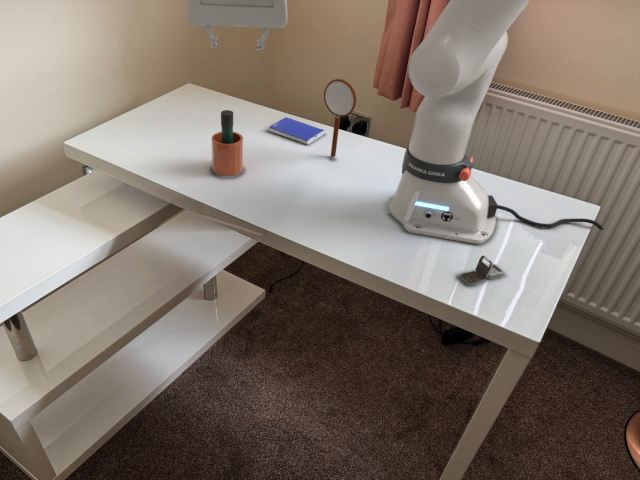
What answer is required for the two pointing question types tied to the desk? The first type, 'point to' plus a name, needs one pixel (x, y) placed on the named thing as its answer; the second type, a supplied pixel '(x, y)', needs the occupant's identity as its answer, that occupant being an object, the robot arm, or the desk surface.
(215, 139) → the pen holder
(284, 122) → the hard drive
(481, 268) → the strap clip
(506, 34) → the robot arm
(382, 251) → the desk surface
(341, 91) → the magnifying glass
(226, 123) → the marker
